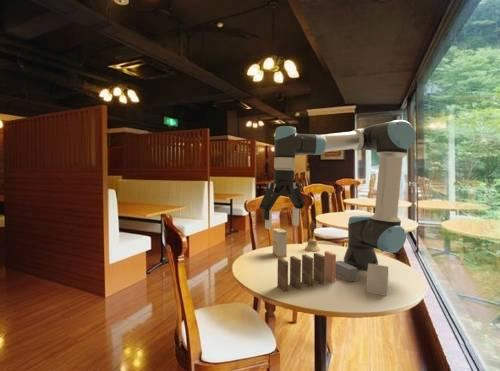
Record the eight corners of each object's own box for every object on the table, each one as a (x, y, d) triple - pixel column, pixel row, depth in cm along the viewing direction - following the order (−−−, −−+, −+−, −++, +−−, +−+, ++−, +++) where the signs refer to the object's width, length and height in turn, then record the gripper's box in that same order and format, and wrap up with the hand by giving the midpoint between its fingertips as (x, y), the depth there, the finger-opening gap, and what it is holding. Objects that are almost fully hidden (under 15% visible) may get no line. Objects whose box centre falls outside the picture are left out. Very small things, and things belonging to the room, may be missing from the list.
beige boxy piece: (386, 295, 102) (387, 268, 101) (366, 291, 105) (367, 264, 105) (387, 292, 105) (388, 265, 104) (368, 287, 108) (369, 262, 108)
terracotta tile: (327, 277, 119) (327, 251, 118) (335, 281, 114) (335, 254, 113) (324, 277, 118) (324, 251, 117) (332, 282, 114) (332, 255, 113)
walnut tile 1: (281, 285, 110) (281, 257, 109) (287, 291, 105) (288, 261, 105) (277, 286, 109) (277, 258, 109) (284, 291, 105) (284, 262, 104)
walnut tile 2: (293, 283, 112) (293, 256, 111) (300, 288, 108) (300, 259, 107) (289, 284, 112) (290, 256, 111) (296, 289, 107) (297, 260, 106)
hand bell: (305, 251, 155) (305, 222, 154) (304, 247, 163) (304, 219, 162) (320, 251, 154) (321, 222, 153) (318, 247, 162) (319, 219, 161)
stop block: (340, 271, 125) (340, 260, 124) (357, 280, 116) (357, 268, 115) (332, 273, 123) (333, 261, 123) (349, 281, 114) (349, 269, 114)
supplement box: (287, 256, 145) (287, 231, 145) (278, 257, 144) (278, 232, 143) (280, 252, 153) (281, 228, 152) (272, 252, 152) (272, 228, 151)
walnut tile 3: (305, 281, 114) (305, 254, 114) (312, 286, 110) (313, 258, 109) (301, 282, 114) (302, 254, 113) (309, 286, 109) (309, 258, 108)
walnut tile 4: (316, 279, 117) (316, 252, 116) (324, 283, 112) (324, 256, 111) (313, 279, 116) (313, 253, 115) (320, 284, 111) (321, 256, 111)
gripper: (300, 170, 115) (299, 222, 116) (250, 168, 100) (249, 228, 102) (315, 170, 109) (313, 225, 110) (263, 169, 94) (262, 232, 95)
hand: (282, 227), depth 106 cm, fingers open, 13 cm apart
